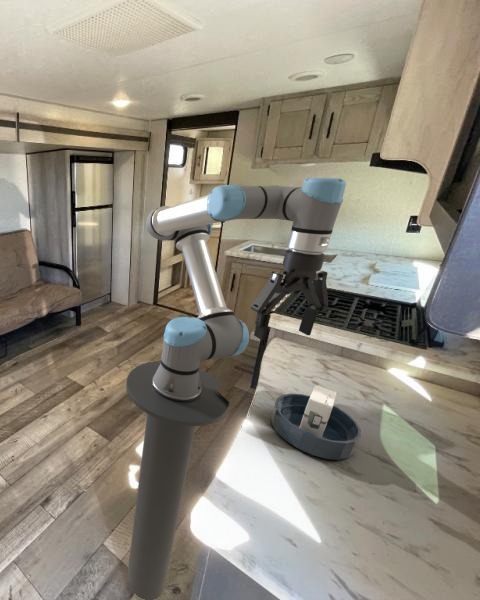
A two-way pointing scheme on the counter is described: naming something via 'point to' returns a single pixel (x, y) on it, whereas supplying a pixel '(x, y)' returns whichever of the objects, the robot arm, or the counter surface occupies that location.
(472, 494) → the counter surface
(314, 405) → the ink box
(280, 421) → the bowl
